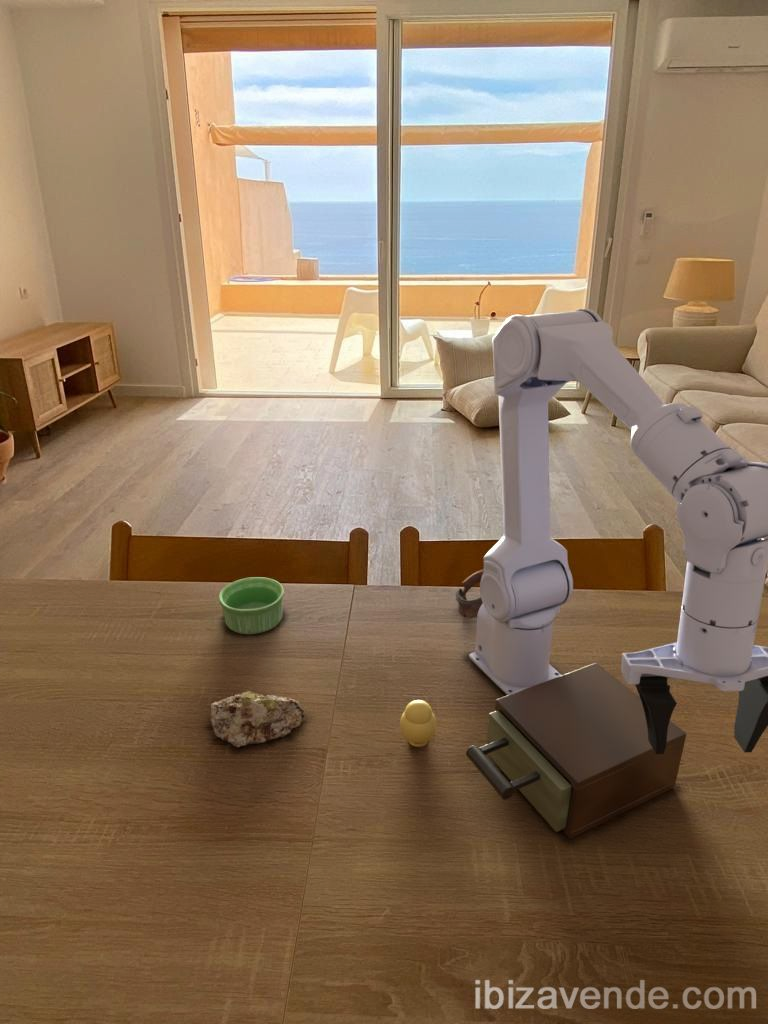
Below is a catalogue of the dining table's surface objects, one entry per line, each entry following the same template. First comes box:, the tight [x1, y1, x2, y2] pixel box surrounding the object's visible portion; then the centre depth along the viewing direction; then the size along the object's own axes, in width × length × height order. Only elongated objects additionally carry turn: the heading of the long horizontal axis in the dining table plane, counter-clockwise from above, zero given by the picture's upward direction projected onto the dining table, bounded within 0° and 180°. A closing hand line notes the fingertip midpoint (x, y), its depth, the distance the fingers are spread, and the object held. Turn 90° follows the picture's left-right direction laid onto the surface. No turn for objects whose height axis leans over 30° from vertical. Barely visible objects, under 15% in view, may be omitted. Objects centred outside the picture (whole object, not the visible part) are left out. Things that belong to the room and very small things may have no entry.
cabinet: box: [494, 662, 687, 839], centre depth 71 cm, size 14×13×7 cm
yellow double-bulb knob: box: [399, 699, 438, 748], centre depth 76 cm, size 4×4×5 cm
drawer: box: [465, 710, 572, 833], centre depth 69 cm, size 17×11×5 cm
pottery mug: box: [455, 568, 484, 619], centre depth 98 cm, size 12×10×8 cm
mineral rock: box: [210, 690, 306, 748], centre depth 79 cm, size 11×4×8 cm
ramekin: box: [218, 576, 285, 635], centre depth 98 cm, size 9×9×4 cm
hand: (699, 745), depth 62 cm, fingers open, 7 cm apart
